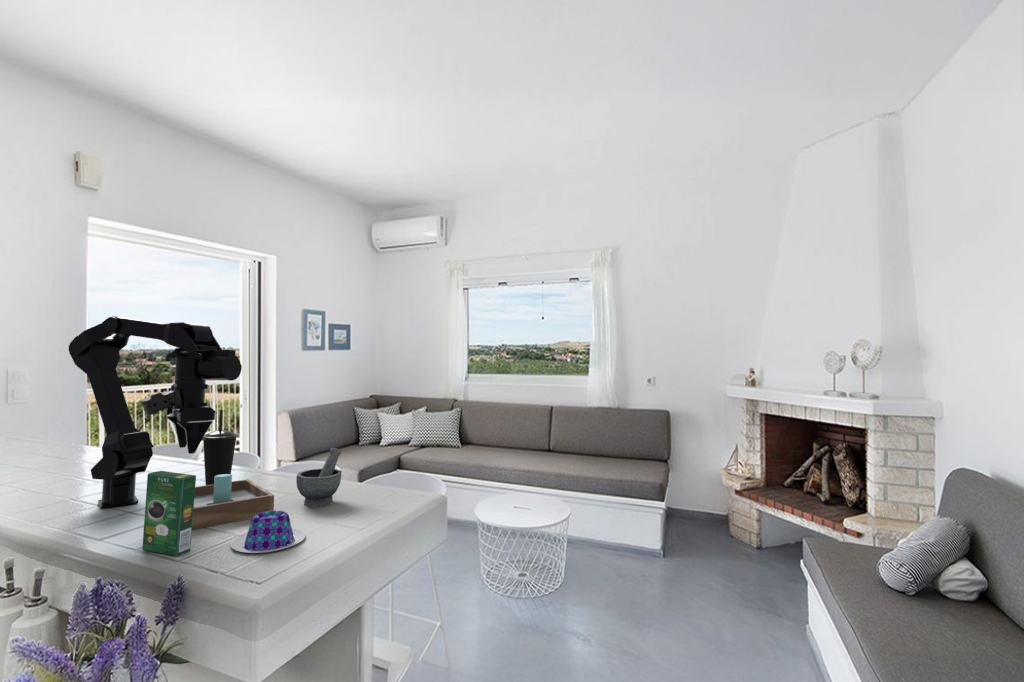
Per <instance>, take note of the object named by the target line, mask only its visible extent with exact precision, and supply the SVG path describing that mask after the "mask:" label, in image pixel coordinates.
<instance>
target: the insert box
mask: <svg viewBox="0 0 1024 682" xmlns="http://www.w3.org/2000/svg"><path fill="white" fill-rule="evenodd" d="M213 496H214V484H211V485H206V484H205V485H198V486H195V496H194V509H193V522H192V531H193V530H198V529H199V530H200V529H203V528H209V527H215V526H220V525H223V524H229V523H233V522H234V523H235V522H239V521H245V520H250V519H251V520H252V518H253V516H254V515H256V514H259V513H261V512H266V511H272V510H274V508H275V494H273V493H272V492H270V491H268V490H266V489H265V488H263V487H262V486H260V485H258V484H257V483H255V482H253V481H252V480H250V479H249V478H247V479H242V480H241V479H239V480H233V481H232V486H231V501H230V502H224V503H218V504H213Z"/></svg>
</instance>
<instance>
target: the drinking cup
mask: <svg viewBox="0 0 1024 682" xmlns="http://www.w3.org/2000/svg"><path fill="white" fill-rule="evenodd" d="M223 413H224V409H219V420H218V430H213V431H210V432H208V433H205V435H204V437H203V439H202V440H203V441H202V443H203V461H204V477H205V480H204V481H205V483H204V484H205V485H211V484H214V477H215V476H217V475H222V474H231V475H232V468H233V463H234V456H235V450H236V449H235V448H236V441H237V437H238V434H237V433H234V432H232V431H230V430H225V429H223V416H224V414H223Z"/></svg>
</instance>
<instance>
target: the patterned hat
mask: <svg viewBox="0 0 1024 682" xmlns="http://www.w3.org/2000/svg"><path fill="white" fill-rule="evenodd" d="M290 519H291V517H290V515H289V514H288V512H286V511H284V510H276V509H275V510H272V511H266V512H261V513H259V514H256V515H254V516H253V518H251V520H250V523H249V527H248V530H247V533H246V534H244V535H241V536H239V537H237V538H235V539H234V540H233V541H232V542H231V544H230V546H231V549H233V550H234V551H237V552H241V553H248V554H258V553H260V554H262V553H271V552H275V551H280V550H284V549H287V548H290V547H293V546H296V545H297V544H299V543H301V542H302V541H304V539H305V538H306V534H305V532H304V531H302V530H301V529H296V528H293V527H292V524H291V520H290ZM293 535H295V536H297V539H298V540H297V541H296V542H295V543H293V544H292V545H289V546H286V545H287V544H291V543H292V541H291V540H293V541H294V536H293ZM285 546H286V547H285Z"/></svg>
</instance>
